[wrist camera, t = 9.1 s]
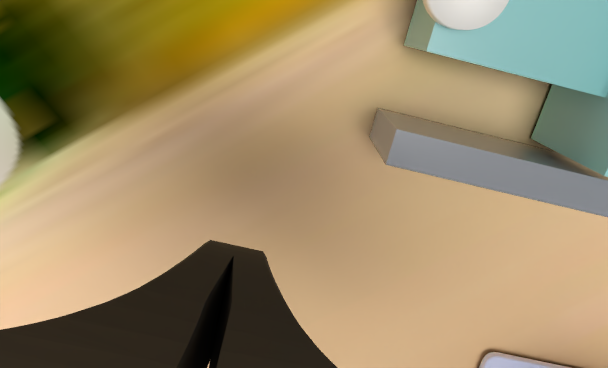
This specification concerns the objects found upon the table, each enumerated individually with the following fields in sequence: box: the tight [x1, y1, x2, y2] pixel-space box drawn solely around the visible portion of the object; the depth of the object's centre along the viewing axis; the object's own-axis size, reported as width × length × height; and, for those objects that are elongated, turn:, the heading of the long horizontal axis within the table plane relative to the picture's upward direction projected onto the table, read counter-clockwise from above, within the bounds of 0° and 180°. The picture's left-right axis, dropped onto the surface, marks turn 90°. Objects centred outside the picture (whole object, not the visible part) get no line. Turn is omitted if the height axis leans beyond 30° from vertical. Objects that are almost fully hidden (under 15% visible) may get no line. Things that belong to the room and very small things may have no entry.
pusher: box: [404, 0, 608, 177], centre depth 16 cm, size 8×8×5 cm
